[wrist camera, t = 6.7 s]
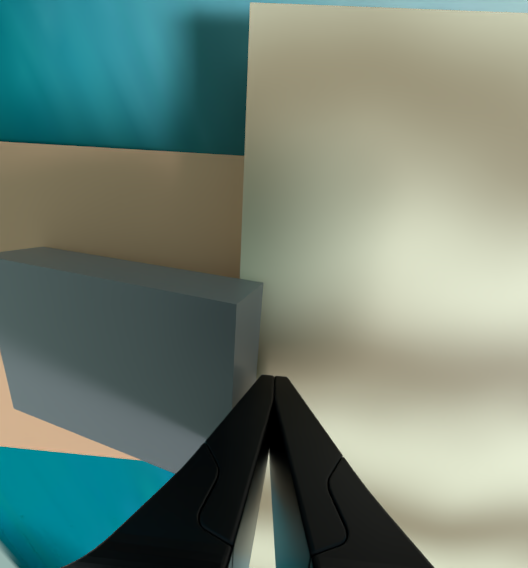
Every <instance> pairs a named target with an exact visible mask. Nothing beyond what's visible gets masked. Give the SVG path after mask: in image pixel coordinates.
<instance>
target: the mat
mask: <svg viewBox="0 0 528 568" xmlns="http://www.w3.org/2000/svg"><path fill="white" fill-rule="evenodd" d="M243 180H244V156H239V155H222V154H205V153H188V152H170V151H153V150H136V149H119V148H102V147H85V146H68V145H51V144H34V143H17V142H0V252H4V251H12V250H20V249H28V248H36V247H49V248H55V249H61V250H67V251H73V252H79V253H85V254H91V255H98V256H104V257H110V258H116V259H122V260H128V261H134V262H140V263H146V264H153V265H159V266H165V267H171V268H177V269H183V270H189V271H195V272H201V273H208V274H214V275H220V276H226V277H232V278H238V279H240V260H241V233H242V206H243ZM0 446H3V447H13V448H23V449H33V450H43V451H53V452H63V453H73V454H83V455H93V456H103V457H113V458H123V459H133V460H140V459H138V458H135V457H133V456H130V455H128V454H125V453H123V452H120V451H118V450H115V449H113V448H110V447H108V446H105V445H103V444H100V443H98V442H95V441H93V440H90V439H88V438H85V437H83V436H81V435H78V434H76V433H73V432H71V431H68V430H66V429H63V428H61V427H58V426H56V425H53V424H51V423H48V422H46V421H43V420H41V419H38V418H36V417H33V416H31V415H28V414H26V413H23V412H21V411H18V410H16V409H14V408H13V403H12V399H11V395H10V390H9V386H8V382H7V378H6V373H5V369H4V365H3V360H2V356H1V352H0Z"/></svg>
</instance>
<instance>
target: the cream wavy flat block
mask: <svg viewBox="0 0 528 568" xmlns="http://www.w3.org/2000/svg"><path fill="white" fill-rule="evenodd" d="M240 279H244V280H250V281H256V282H262V283H263V295H262V308H261V321H260V334H259V347H258V360H257V373H256V380H257V379H258V378H259V377H260V376H261V375H262V374H264V375H273V376H274V377H275V376H285V377H288V378H289V380H290V381H291V383H292V384H293V385H294V387H295V388H296V390H297V391H298V393H299V394H300V395H301V397H302V398H303V400H304V401H305V402H306V404H307V405H308V407H309V408H310V409H311V411H312V412H313V414H314V415H315V417H316V418H317V419H318V421H319V422H320V424H321V425H322V426H323V428H324V429H325V431H326V432H327V433H328V435H329V436H330V438H331V439H332V441H333V442H334V443H335V445H336V446H337V448H338V449H339V450H340V452H341V453H342V455H343V457H344V458H345V459H346V460H347V462H348V463H349V464H350V466H351V467H352V469H353V470H354V471H355V473H356V474H357V475H358V477H359V478H360V479H361V481H362V482H363V483H364V485H365V486H366V487H367V489H368V490H369V491H370V492H371V494H372V495H373V496H374V497H375V498H376V500H377V501H378V502H379V503H380V504H381V506H382V507H383V508H384V509H385V511H386V512H387V513H388V514H389V515H390V516H391V517H392V519H393V520H394V521H395V522H396V523H397V524H398V526H399V527H400V528H401V529H402V530H403V531H404V533H405V534H406V535H407V536H408V537H409V538H410V540H411V541H412V542H413V543H414V544H415V545H416V547H417V548H418V549H419V550H420V551H421V552H422V554H423V555H424V556H425V557H426V558H427V559H428V560H429V562H430V563H431V564H432V565H433V566H434V567H435V568H528V13H511V12H485V11H459V10H433V9H407V8H380V7H354V6H328V5H302V4H276V3H250V19H249V46H248V73H247V99H246V126H245V153H244V180H243V206H242V233H241V260H240ZM249 568H276V565H275V548H274V531H273V514H272V497H271V480H270V464H269V456H268V462H267V468H266V474H265V479H264V485H263V491H262V496H261V502H260V507H259V513H258V519H257V524H256V530H255V536H254V541H253V547H252V553H251V558H250V564H249Z"/></svg>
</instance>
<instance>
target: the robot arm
mask: <svg viewBox="0 0 528 568" xmlns="http://www.w3.org/2000/svg"><path fill="white" fill-rule="evenodd" d="M268 456H269V464H270V480H271V497H272V514H273V531H274V548H275V565H276V568H435V567H434V566H433V565H432V564H431V563H430V562H429V560H428V559H427V558H426V557H425V556H424V555H423V554H422V552H421V551H420V550H419V549H418V548H417V547H416V545H415V544H414V543H413V542H412V541H411V540H410V538H409V537H408V536H407V535H406V534H405V533H404V531H403V530H402V529H401V528H400V527H399V526H398V524H397V523H396V522H395V521H394V520H393V519H392V517H391V516H390V515H389V514H388V513H387V512H386V511H385V509H384V508H383V507H382V506H381V504H380V503H379V502H378V501H377V500H376V498H375V497H374V496H373V495H372V494H371V492H370V491H369V490H368V489H367V487H366V486H365V485H364V483H363V482H362V481H361V479H360V478H359V477H358V475H357V474H356V473H355V471H354V470H353V469H352V467H351V466H350V464H349V463H348V462H347V460H346V459H345V458H344V457H343V455H342V453H341V452H340V450H339V449H338V448H337V446H336V445H335V443H334V442H333V441H332V439H331V438H330V436H329V435H328V433H327V432H326V431H325V429H324V428H323V426H322V425H321V424H320V422H319V421H318V419H317V418H316V417H315V415H314V414H313V412H312V411H311V409H310V408H309V407H308V405H307V404H306V402H305V401H304V400H303V398H302V397H301V395H300V394H299V393H298V391H297V390H296V388H295V387H294V385H293V384H292V383H291V381H290V380H289V378H288V377H285V376H275V377H274V376H273V375H264V374H262V375H261V376H260V377H259V378H258V379H257V380H256V381H255V383H254V384H253V385H252V386H251V387H250V389H249V390H248V391H247V392H246V393H245V394H244V396H243V397H242V398H241V399H240V400H239V402H238V403H237V404H236V405H235V406H234V407H233V409H232V410H231V411H230V412H229V413H228V415H227V416H226V417H225V418H224V419H223V420H222V422H221V423H220V424H219V425H218V426H217V428H216V429H215V430H214V431H213V432H212V434H211V435H210V436H209V437H208V438H207V439H206V441H205V443H203V444H202V445H201V446H200V448H199V449H198V450H197V451H196V452H195V453H194V455H193V456H192V457H191V458H190V459H189V460H188V461H187V462H186V463H185V465H184V466H183V467H182V468H181V469H180V470H179V471H178V472H177V473H176V474H175V475H174V476H173V477H172V478H171V479H170V480H169V481H168V482H167V483H166V484H165V485H164V486H163V487H162V488H161V489H160V490H158V491H157V492H156V493H155V494H154V495H153V496H152V497H151V498H150V499H149V500H148V501H147V502H146V503H145V504H144V505H143V506H141V507H140V508H139V509H138V510H137V511H136V512H135V513H134V514H133V515H132V516H131V517H130V518H129V519H128V520H127V521H126V522H125V523H123V524H122V525H121V526H120V527H119V528H118V529H117V530H116V531H115V532H114V533H113V534H112V535H111V536H109V537H108V538H107V539H106V540H105V541H104V542H102V543H101V544H100V545H99V546H97V547H96V548H95V549H93V550H92V551H91V552H89V553H88V554H86V555H85V556H83V557H81V558H80V559H78V560H76V561H75V562H72V563H70V564H68V565H66V566H64V567H61V568H249V564H250V558H251V553H252V547H253V541H254V536H255V530H256V524H257V519H258V513H259V507H260V502H261V496H262V491H263V485H264V479H265V474H266V468H267V462H268Z"/></svg>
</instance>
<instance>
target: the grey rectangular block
mask: <svg viewBox="0 0 528 568" xmlns="http://www.w3.org/2000/svg"><path fill="white" fill-rule="evenodd" d="M262 295H263V283H262V282H256V281H250V280H244V279H238V278H232V277H226V276H220V275H214V274H208V273H201V272H195V271H189V270H183V269H177V268H171V267H165V266H159V265H153V264H146V263H140V262H134V261H128V260H122V259H116V258H110V257H104V256H98V255H91V254H85V253H79V252H73V251H67V250H61V249H55V248H49V247H36V248H28V249H20V250H12V251H4V252H0V352H1V356H2V360H3V365H4V369H5V373H6V378H7V382H8V386H9V390H10V395H11V399H12V403H13V408H14V409H16V410H18V411H21V412H23V413H26V414H28V415H31V416H33V417H36V418H38V419H41V420H43V421H46V422H48V423H51V424H53V425H56V426H58V427H61V428H63V429H66V430H68V431H71V432H73V433H76V434H78V435H81V436H83V437H85V438H88V439H90V440H93V441H95V442H98V443H100V444H103V445H105V446H108V447H110V448H113V449H115V450H118V451H120V452H123V453H125V454H128V455H130V456H133V457H135V458H138V459H140V460H143V461H145V462H148V463H150V464H153V465H155V466H158V467H160V468H163V469H165V470H168V471H170V472H172V473H175V474H176V473H177V472H178V471H179V470H180V469H181V468H182V467H183V466H184V465H185V463H186V462H187V461H188V460H189V459H190V458H191V457H192V456H193V455H194V453H195V452H196V451H197V450H198V449H199V448H200V446H201V445H202V444H203V443H205V441H206V439H207V438H208V437H209V436H210V435H211V434H212V432H213V431H214V430H215V429H216V428H217V426H218V425H219V424H220V423H221V422H222V420H223V419H224V418H225V417H226V416H227V415H228V413H229V412H230V411H231V410H232V409H233V407H234V406H235V405H236V404H237V403H238V402H239V400H240V399H241V398H242V397H243V396H244V394H245V393H246V392H247V391H248V390H249V389H250V387H251V386H252V385H253V384H254V383H255V381H256V373H257V360H258V347H259V334H260V321H261V308H262Z"/></svg>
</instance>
